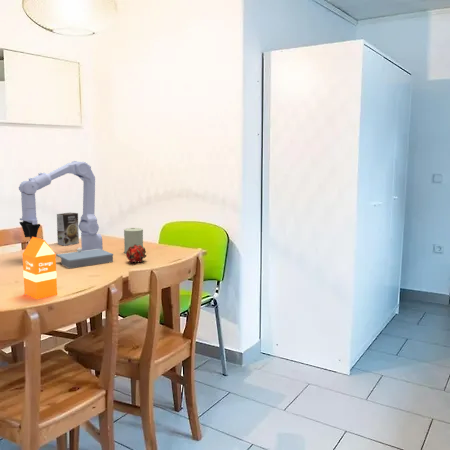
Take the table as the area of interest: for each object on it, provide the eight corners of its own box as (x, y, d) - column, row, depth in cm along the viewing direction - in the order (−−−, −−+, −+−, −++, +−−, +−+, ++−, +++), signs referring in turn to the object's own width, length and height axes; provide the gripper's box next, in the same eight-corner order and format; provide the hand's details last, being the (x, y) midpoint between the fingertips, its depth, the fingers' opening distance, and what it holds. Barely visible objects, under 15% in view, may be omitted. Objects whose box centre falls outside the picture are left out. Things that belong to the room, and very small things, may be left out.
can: (141, 250, 245) (141, 226, 243) (144, 254, 236) (144, 229, 234) (123, 251, 242) (122, 227, 240) (125, 255, 233) (125, 230, 232)
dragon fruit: (143, 262, 227) (133, 272, 215) (128, 251, 227) (117, 260, 215) (152, 248, 223) (142, 258, 212) (137, 237, 223) (127, 246, 212)
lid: (99, 250, 230) (99, 244, 229) (113, 255, 219) (113, 249, 219) (56, 255, 217) (56, 249, 217) (68, 261, 206) (68, 255, 206)
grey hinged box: (103, 258, 227) (103, 251, 226) (112, 261, 220) (112, 255, 219) (61, 264, 214) (61, 257, 213) (69, 268, 207) (69, 261, 207)
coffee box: (65, 246, 252) (64, 214, 250) (57, 244, 256) (56, 213, 253) (79, 243, 260) (78, 213, 257) (71, 241, 263) (70, 212, 261)
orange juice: (36, 299, 166) (33, 241, 163) (24, 294, 172) (21, 237, 168) (57, 294, 172) (55, 238, 168) (45, 289, 177) (42, 235, 174)
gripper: (14, 207, 220) (16, 236, 222) (24, 210, 209) (26, 241, 211) (30, 205, 224) (31, 235, 227) (41, 209, 213) (43, 240, 216)
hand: (30, 238), depth 219 cm, fingers open, 7 cm apart
